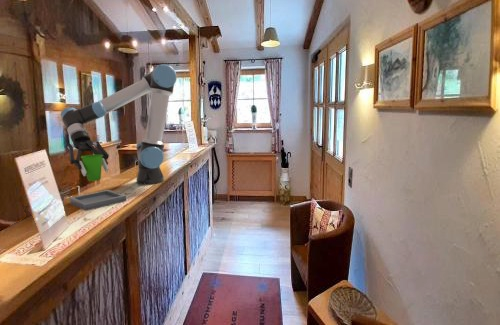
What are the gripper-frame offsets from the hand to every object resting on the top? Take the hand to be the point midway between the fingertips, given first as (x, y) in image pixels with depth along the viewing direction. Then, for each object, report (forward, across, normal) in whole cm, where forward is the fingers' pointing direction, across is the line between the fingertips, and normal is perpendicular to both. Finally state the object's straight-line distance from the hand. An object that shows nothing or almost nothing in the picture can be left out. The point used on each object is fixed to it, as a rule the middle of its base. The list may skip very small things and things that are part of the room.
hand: (96, 172), depth 143 cm
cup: (+1, 0, -5) cm, 5 cm away
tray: (+8, 0, -12) cm, 15 cm away
